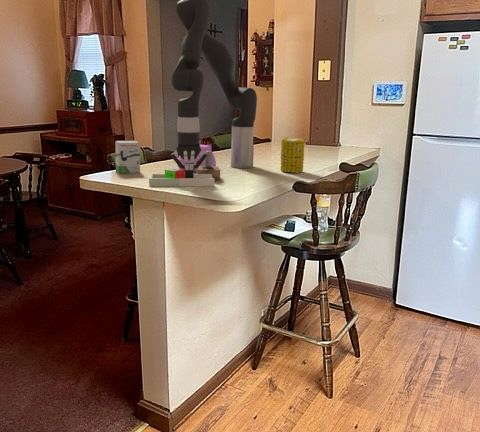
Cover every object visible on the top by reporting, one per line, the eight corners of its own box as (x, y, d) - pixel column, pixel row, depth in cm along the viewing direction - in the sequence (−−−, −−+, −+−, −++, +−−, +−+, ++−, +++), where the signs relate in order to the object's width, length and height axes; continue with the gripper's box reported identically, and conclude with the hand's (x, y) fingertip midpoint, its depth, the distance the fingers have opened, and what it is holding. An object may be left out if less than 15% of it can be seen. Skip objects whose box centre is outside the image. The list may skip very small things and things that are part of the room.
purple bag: (199, 176, 180) (200, 144, 177) (165, 172, 186) (165, 141, 183) (225, 168, 199) (226, 140, 196) (194, 165, 206) (194, 137, 203)
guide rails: (211, 180, 172) (211, 173, 171) (214, 186, 162) (214, 178, 161) (178, 180, 170) (178, 173, 169) (179, 186, 160) (179, 178, 160)
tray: (178, 180, 170) (178, 173, 169) (179, 186, 160) (179, 178, 160) (150, 180, 168) (150, 173, 168) (149, 186, 159) (149, 178, 158)
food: (303, 174, 200) (297, 179, 191) (277, 166, 203) (270, 170, 194) (313, 140, 194) (308, 143, 185) (287, 131, 197) (280, 134, 188)
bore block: (217, 176, 180) (217, 166, 179) (219, 180, 172) (220, 169, 171) (196, 176, 178) (196, 166, 177) (197, 180, 171) (198, 169, 170)
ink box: (118, 173, 180) (117, 142, 177) (115, 171, 184) (114, 140, 181) (141, 172, 184) (140, 141, 181) (137, 170, 188) (136, 140, 185)
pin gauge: (211, 178, 177) (211, 151, 174) (211, 179, 174) (212, 152, 172) (204, 178, 176) (205, 151, 174) (205, 179, 174) (205, 152, 171)
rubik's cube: (175, 185, 161) (174, 171, 160) (164, 183, 164) (164, 169, 163) (185, 183, 165) (185, 169, 164) (175, 181, 168) (174, 167, 166)
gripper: (206, 129, 166) (207, 177, 171) (168, 129, 164) (170, 178, 169) (208, 131, 159) (208, 182, 163) (169, 131, 157) (170, 182, 161)
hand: (189, 180), depth 166 cm, fingers closed
